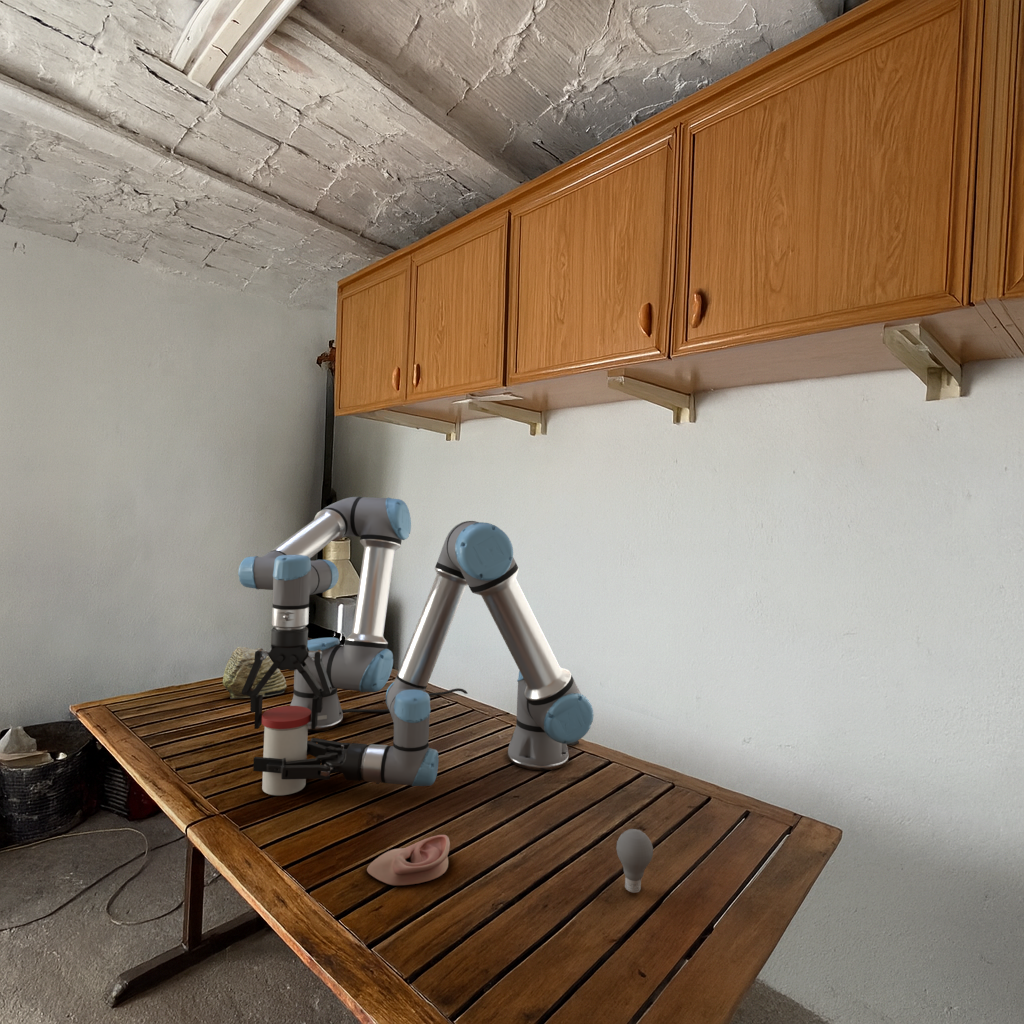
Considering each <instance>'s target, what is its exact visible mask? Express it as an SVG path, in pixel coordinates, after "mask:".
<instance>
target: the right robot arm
mask: <svg viewBox="0 0 1024 1024" xmlns="http://www.w3.org/2000/svg"><path fill="white" fill-rule="evenodd" d="M519 570H520V568H519V566H518V564H517V562H516V560H515V557H514V547H513V544H512V541H511V539H510V537H509V536H508V534H507V533H506V532H505V531H503V530H502V529H501V528H500V527H498V526H497V525H495V524H493V523H490V522H484V521H483V522H479V521H476V520H466V521H461V522H460V523H458V524H456V525H455V526H453V528H451V529H450V531H449V532H448V533H447V535H446V537H445V540H444V542H443V545H442V548H441V550H440V553H439V556H438V559H437V562H436V564H435V566H434V571H435V573H436V576H435V578H434V580H433V583H432V585H431V588H430V591H429V593H428V596H427V598H426V601H425V603H424V606H423V608H422V611H421V613H420V616H419V618H418V620H417V624H416V625H415V629H414V631H413V633H412V636H411V639H410V641H409V644H408V646H407V649H406V651H405V653H404V657H403V659H402V662H401V663H400V666H399V669H398V671H397V674H396V677H395V679H394V681H393V682H391V684H390V685H388V688H387V690H386V693H385V704H386V707H387V709H389V711H390V712H389V714H390V716H391V719H392V722H393V742H392V745H387V744H376V743H375V744H374V743H371V744H369V745H368V744H367V743H357V742H352V743H351V742H339V741H333V740H328V739H322V738H317V737H312V738H310V740H307V756H312V757H313V758H307V759H304V760H295V761H286V758H284V759H277V758H264V757H263V756H255V757H253V762H252V763H253V765H252V770H253V772H260V773H263V772H272V773H281V779H306V780H313V779H314V780H324V781H328V780H330V779H331V774H337V773H342V776H343V779H345V780H346V781H351V782H363V780H364V782H367V783H376V785H379V784H390V785H391V784H394V785H403V786H411V787H430V786H433V785H434V783H435V782H436V779H437V776H438V771H439V761H440V760H439V751H438V750H437V749H435V748H432V747H430V744H429V735H430V720H431V718H430V716H431V711H432V708H431V696H429V694H428V693H429V692H426V690H427V687H428V684H429V681H430V679H431V677H432V674H433V672H434V669H435V667H436V664H437V661H438V659H439V657H440V655H441V652H442V649H443V646H444V644H445V642H446V639H447V636H448V634H449V631H450V628H451V627H452V623H453V621H454V619H455V616H456V613H457V611H458V608H459V606H460V603H461V601H462V598H463V596H464V593H465V592H466V589H467V587H469V590H470V591H471V593H472V594H475V595H478V596H481V598H482V600H483V602H484V605H485V606H486V608H487V610H488V612H489V614H490V616H491V617H492V619H493V621H494V623H495V625H496V627H497V629H498V631H499V634H500V635H501V637H502V640H503V641H504V642H505V645H506V647H507V649H508V651H509V653H510V655H511V656H512V658H513V661H514V663H515V665H516V667H517V668H518V670H519V671H518V677H517V680H516V681H517V696H516V721H515V722H516V723H515V728H514V731H513V733H512V736H511V738H510V742H509V745H508V748H507V759H508V761H509V762H510V763H512V764H513V765H515V766H517V767H520V768H523V769H526V770H531V771H551V770H558V769H561V768H563V767H565V766H566V765H567V764H568V763H569V755H570V754H569V748H568V746H569V747H571V746H576V745H578V744H580V740H581V739H582V738H584V737H585V736H586V735H587V734H588V732H589V731H590V730H591V727H592V723H594V722H593V721H594V716H595V713H594V708H593V706H592V703H591V702H590V699H589V698H587V696H586V695H584V694H582V692H581V691H580V688H579V687H578V685H577V683H576V681H575V679H574V677H573V675H572V673H571V671H570V670H569V669H567V668H564V667H561V666H560V664H559V662H558V660H557V657H556V656H555V654H554V651H553V650H552V647H551V645H550V644H549V641H548V639H547V638H546V636H545V634H544V631H543V629H542V628H541V626H540V624H539V622H538V619H537V618H536V616H535V614H534V612H533V610H532V607H531V605H530V604H529V602H528V600H527V597H526V596H525V594H524V591H523V590H522V587H521V585H520V583H519V581H518V580H517V576H518V573H519Z"/></svg>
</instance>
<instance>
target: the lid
mask: <svg viewBox="0 0 1024 1024" xmlns="http://www.w3.org/2000/svg"><path fill="white" fill-rule="evenodd" d="M310 721H311V710H310V709H308V708H305V707H301V706H290V705H284V706H283V705H282V706H276V707H272V708H269V709H267V710H265V711H263V712H262V724H261V726H263V727H264V726H265V727H268V728H273V729H290V728H296V727H300V726H303V725H306V724H307V723H309V722H310Z"/></svg>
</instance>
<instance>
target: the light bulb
mask: <svg viewBox="0 0 1024 1024" xmlns="http://www.w3.org/2000/svg"><path fill="white" fill-rule="evenodd" d="M615 849H616V854H617V857H618V859H619V861H620V863H621V865H622V867H623V873H624V874H623V875H624V876H625V878H624V888H625V890H627V891H628V892H630V893H634V894H635V893H639V892H640V891H641V889H642V887H641V886H642V879H643V877H644V875H645V871H646V868H647V867H648V866H649V864H650V863H651V861H652V859H653V855H654V847H653V843H652V841H651V838H649V836H648V835H647V834H646V833H645V832H643V831H642V830H641V829H636V828H629V829H627V830H625V831H623V832H622V833H621V834H620V835H619V837H618V839H617V841H616V847H615Z"/></svg>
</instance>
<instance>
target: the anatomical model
mask: <svg viewBox="0 0 1024 1024" xmlns="http://www.w3.org/2000/svg"><path fill="white" fill-rule="evenodd" d="M450 849H451V843H450V838H449V836H448V835H446V834H437V835H434V836H430V837H426V838H423V839H421V840H419V841H417V842H415V843H413V844H410V845H408V846H406V847H403V848H402V847H400V848H394V849H390V850H388V851H386V852H384V853H382V854H381V855H379V856H378V857H376V858H375V859H374V860H373V861H371V862H370V864H369V865H368V866H367V868H366V872H367V873H368V874H369V875H370V876H371V877H373V878H374V879H376V880H378V881H379V882H382V883H384V884H386V885H389V886H410V885H415V884H421V883H425V882H430V881H432V880H435V879H437V878H439V877H441V876H443V874H445V873H446V872H447V870H448V868H449V857H448V855H449V853H450Z"/></svg>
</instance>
